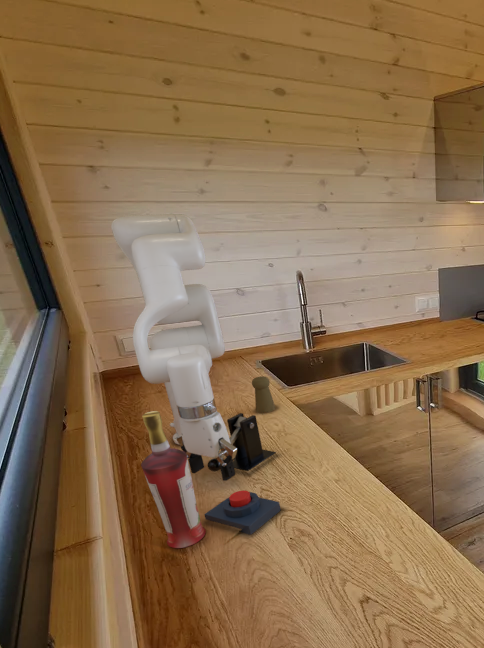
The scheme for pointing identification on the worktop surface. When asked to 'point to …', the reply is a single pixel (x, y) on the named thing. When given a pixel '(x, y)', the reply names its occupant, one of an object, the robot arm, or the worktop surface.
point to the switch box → (244, 513)
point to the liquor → (171, 486)
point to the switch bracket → (248, 443)
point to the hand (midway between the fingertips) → (213, 474)
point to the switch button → (240, 498)
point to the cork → (263, 395)
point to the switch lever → (214, 463)
